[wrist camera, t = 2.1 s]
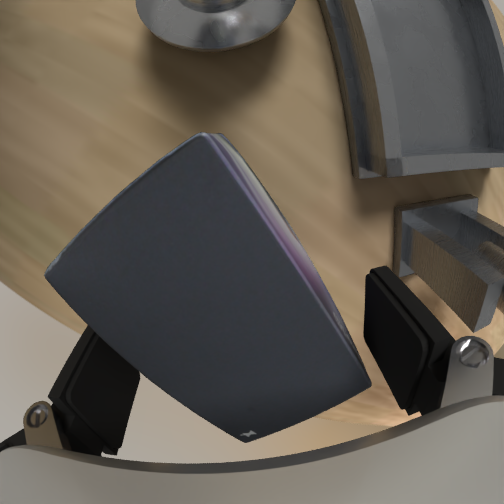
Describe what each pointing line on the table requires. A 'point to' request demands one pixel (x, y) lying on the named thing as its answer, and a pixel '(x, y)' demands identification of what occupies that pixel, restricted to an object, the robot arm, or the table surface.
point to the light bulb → (493, 263)
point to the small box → (212, 294)
